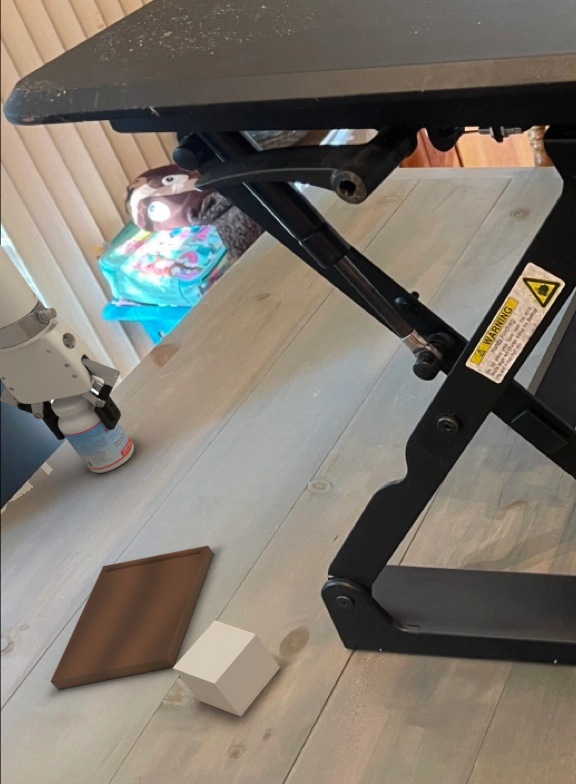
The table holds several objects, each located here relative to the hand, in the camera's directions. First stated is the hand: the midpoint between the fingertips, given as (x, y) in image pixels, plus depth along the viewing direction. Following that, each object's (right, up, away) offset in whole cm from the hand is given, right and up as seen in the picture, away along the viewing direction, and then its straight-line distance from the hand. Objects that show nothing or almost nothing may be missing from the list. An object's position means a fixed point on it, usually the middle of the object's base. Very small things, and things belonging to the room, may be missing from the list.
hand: (90, 427), depth 142 cm
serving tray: (+18, -20, -20) cm, 34 cm away
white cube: (+34, -24, -30) cm, 51 cm away
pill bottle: (+1, -5, +4) cm, 6 cm away
